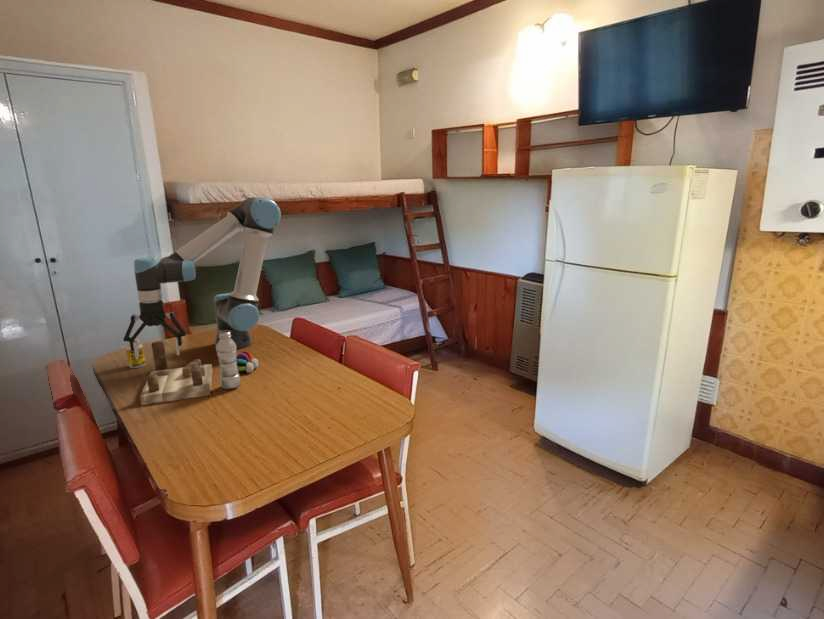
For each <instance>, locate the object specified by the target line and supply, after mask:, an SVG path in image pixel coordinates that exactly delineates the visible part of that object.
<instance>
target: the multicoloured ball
mask: <svg viewBox="0 0 824 619" xmlns="http://www.w3.org/2000/svg"><path fill="white" fill-rule="evenodd" d="M236 362H237V368H238V372H242V371H243V372H246V373H247V374H250V373H252V372H253V371H254V370H255V369H257V368H258V366H259V361H258V359H257V358H254V355H253V354H251V353H250V352H249V351H246V350H244V351H241V352H239V353H237V354H236Z"/></svg>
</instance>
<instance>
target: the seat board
mask: <svg viewBox="0 0 824 619" xmlns="http://www.w3.org/2000/svg"><path fill="white" fill-rule="evenodd" d="M184 367H185V366H184ZM184 367H177V368H176V367H175V368H168V370H160V371H156V370H153V371H150V373H149V375H147V376H146V382H145V385H144V387H143V389H142V391H141V394H140V396H139V400H140V404H141V406H145V405H152V403H153V404H158V403H165V402H170V401H171V402H172V401H178V400H179V401H180V400H185V399H191V398H199V397H205V396H210V395H211V389H212V380H213V366H212V363H209V364H207V363H206V364H201V365H200V366H199V369H193V370H191V374H192V376H190V377H183V372H182V368H184Z"/></svg>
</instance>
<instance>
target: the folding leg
mask: <svg viewBox="0 0 824 619" xmlns="http://www.w3.org/2000/svg"><path fill="white" fill-rule="evenodd" d="M200 365H202V360H201V359H199V358H198V359H194V360H192V361H190V362H189V363H187V365H185V366H184V368H183V367H181V368H182V372H183V377H190V376H192V374H191V370H193V369H199V366H200Z"/></svg>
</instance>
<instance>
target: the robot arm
mask: <svg viewBox="0 0 824 619" xmlns="http://www.w3.org/2000/svg"><path fill="white" fill-rule="evenodd" d="M281 215H282V213H281V209H280V207H279V205H278V204H277V203H276V202H275V201H274V200H273V199H271V198H267V197H263V196H261V197H255V196H253V197H248V198H246V199H244V200H242V201H241V202H240V203H238V204H237V205H236V206H234V207H233V208H232V209H230V210H229V211H228V212H227V213H226V216H224V217H223V218H222V219H221V220H219V221H218V222H216V223H214V224H213V225H212V226H210V227H209V228H207V229H206V230H204V231H203V232H202V233H200V234H199V235H198V236H196V237H194V238H193V239H192V240H190V241H189V242H187V243H185V244H184V245H183V246H181V247H180V248H178V249H177V250H175V251H174V252H172V253H171V254H169V255H168V256H164V257H162V258H161V259H160V260H158V258H156V257H140V258H135V260H134V261H133V268H134V271H133V273H134V275H135V276H134V277H135V284H136V291H137V298H138V299H137V300H138V301H139V303H138V306H139V312H140V314H138V315H137V314H134V313H133V314H131V316H130V323H129V325H128V327H127V329H126V332H125V334H124V337H123V339H122V341H123V342H127V343H128V342H130V347H131V350H134V352H135V359H138V358H139V351H138V344H137V340H138V339H137V340H136V338H137V337H138V336H139V335H140V333H141V332H142V331H143V330H144V328H145V327H146V326H147V327H154V326H155V327H158V326H160V325H161V327H162V328H163V327H164V328H165V329H166V330H167V331H168V332H169V333H171V334H172V335H174V336H175V338H174V341H175V351H176V356H180V354H181V352H180V347H182V344H183V341H182V337H185V336H186V334H187V332H186V330H185V329H184V327H183V326H182V325H181V323H180V322H179V320H178V319H177V318H176V316H175V312H174V311H170V312H165V310H164V308H165V307H164V301H163V300H162V299H163V294H162V285H161V284H168V283H169V284H170V283H179V282H180V283H181V282H185V283H186V282H189V281H194V280H195V279H196V277H197V275H196V274H197V273H196V272H197V271H196V267H195V264H194V263H196V262H198V261H199V260H200V259H202V258H203V257H205V256H206V255H207V254H209V253H210V252H212V251H213V250H214V249H217V247H218V246H220V245H222V244H223V243H225V242H226V241H228V240H229V239H230V238H232V237H234V235H236V234H237V233H238V232H244V231H245V237H244V242H243V247H242V250H241V256H240V260H239V266H238V268H237V269H238V270H237V275H236V278H235V285H234V287H233V288H234V289H233V291H232V292H227V293H220V294H217V295H214V297H213V304H214V311H215V312H214V314H215V320H216V328H217V330H216V335H215V338H214V347H215V349H216V345H217V343H218V341H219V340H220V338H219V332H220V331H225V330H228V331H230V333H231V337H230V338H231V339H232V340H233V341H234V342H235V344H236V350H239V349H243V348H246V347H248V346H250V345H252V343H253V342H252V336H251V333H250V332H249V331H250V330H251V329H253V328H255V327H256V326H257V324H258V323H259V320H260V312H259V309H258V307H259V306H258V305H259V300H260V299H259V298H258V296H257V293H258V286H259V282H260V277H261V272H262V267H263V263H264V258H265V253H266V248H267V245H268V241H269V240H268V239H269V238H270V237H271V236H273V235H274V232H275V231H274V230H275V227H276V226H277V225H278V224H279V223H280V221H281V219H282V218H281V217H282V216H281ZM166 317H167V318H168V319H169V320H170V321H171V322H172V323H173V325H174V326H175V327H173V326H172V325H171V324H170V323H168V322H167V321H166V320H165V319H166ZM138 320H140V321H142V323H141V325H140V326H139V328H138V329H137V330H136V331H135V333H134V334H133V335H132V336H131V333H132V331H133V329H134V326H135V324H136V322H137V321H138ZM175 328H176V329H175ZM134 340H135V341H134Z"/></svg>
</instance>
